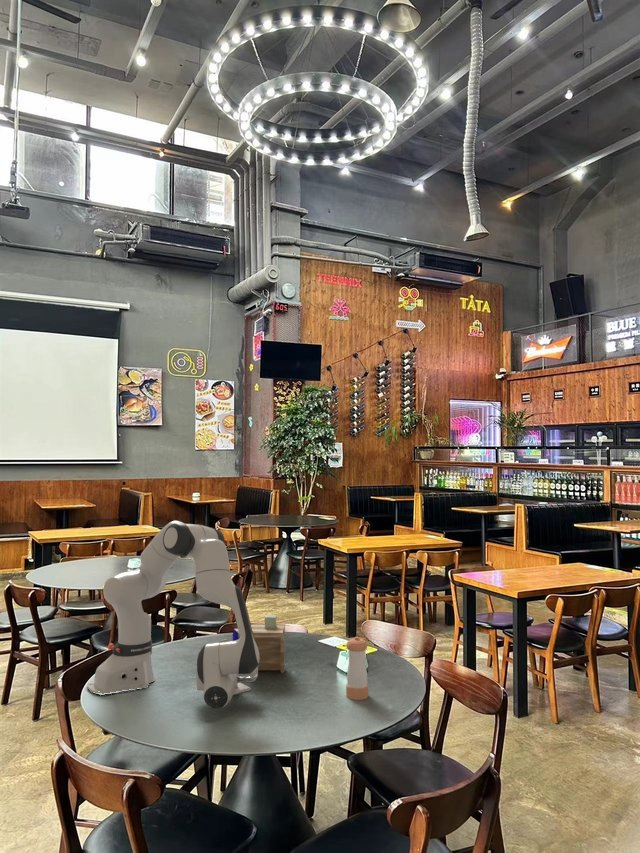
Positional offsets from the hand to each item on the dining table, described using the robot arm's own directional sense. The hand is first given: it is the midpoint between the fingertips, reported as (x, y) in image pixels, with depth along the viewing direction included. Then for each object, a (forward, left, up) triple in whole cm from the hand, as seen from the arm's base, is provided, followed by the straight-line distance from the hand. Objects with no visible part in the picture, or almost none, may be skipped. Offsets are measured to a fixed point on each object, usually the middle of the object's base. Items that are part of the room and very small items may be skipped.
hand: (230, 665), depth 208 cm
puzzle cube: (+27, +30, -9) cm, 41 cm away
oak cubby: (+18, +7, -8) cm, 21 cm away
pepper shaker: (+30, -31, -9) cm, 44 cm away
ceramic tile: (+1, +2, -8) cm, 9 cm away
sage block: (+22, +7, +8) cm, 24 cm away
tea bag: (+11, +24, -9) cm, 28 cm away
